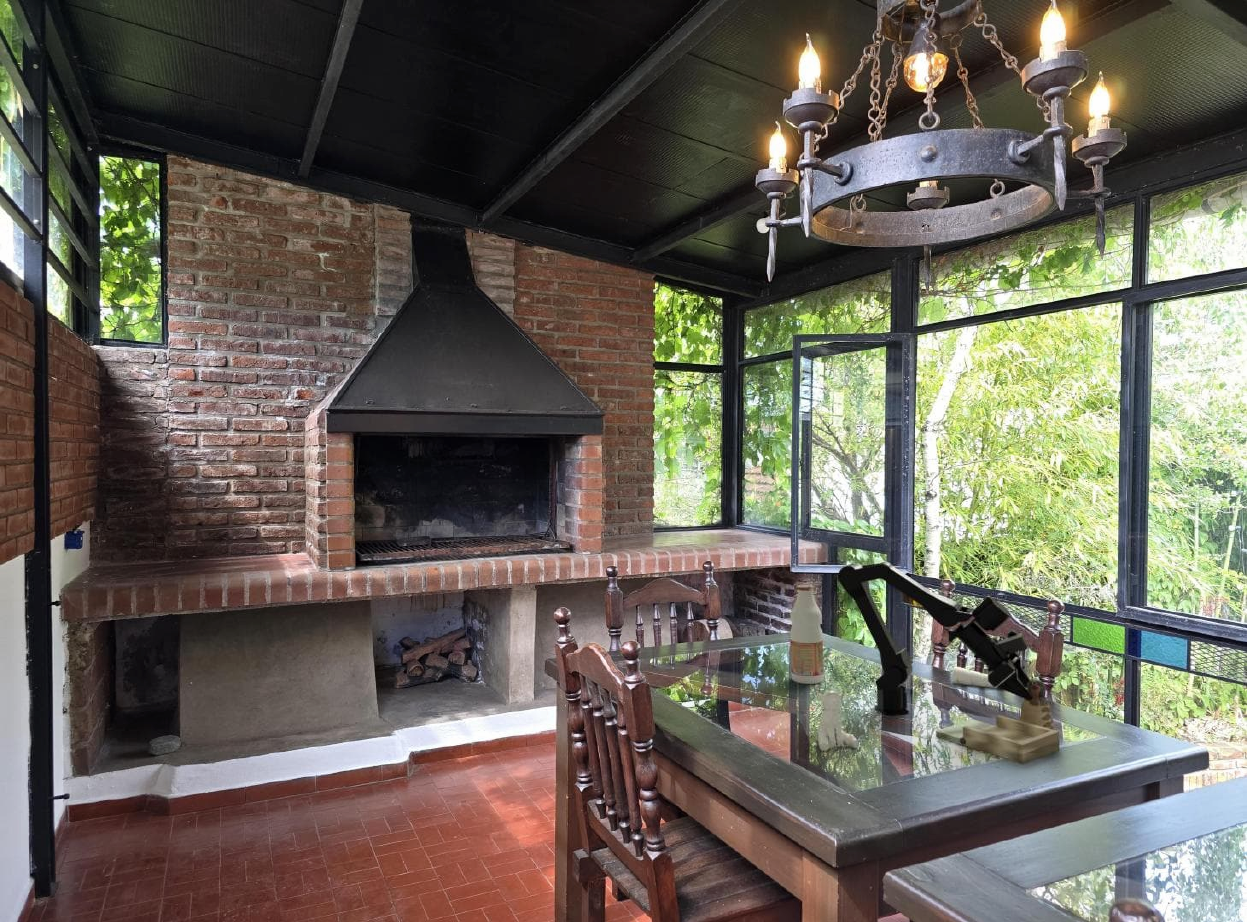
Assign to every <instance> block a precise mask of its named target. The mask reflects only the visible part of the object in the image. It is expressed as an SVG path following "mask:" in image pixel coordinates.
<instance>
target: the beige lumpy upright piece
mask: <svg viewBox="0 0 1247 922" xmlns="http://www.w3.org/2000/svg"><path fill="white" fill-rule="evenodd" d="M842 694H843V693H838V692H837V691H834V690H832V689H831V690H826V691H824V693H823V694H822V693H817V694H816V695H817V698H818V699H819V700H821V705H822V708H824V710H823V711H822V713H821V716H820V720H819V721H820V722H819V724H818V727H817V732H816V734H817V735H816V736H817V739H818V740H817V741H818V743H817V744H818V747H819V749H820V750H821V751H824V752H827V751H828V750H829V749H833V748H836V747H839V748H841V747H842V748H843V747H850V748H852V749H857V748H858V747H859V744H860V743H859V742H860V741H859V740H858V739H857V738H856V737H855V736H854V734H852V733H847V732H845V731H844V729H843V728H842V726H843V725H842V722H843V720H842V717H841V715H840V709H841V708H842V706H843V703H842Z"/></svg>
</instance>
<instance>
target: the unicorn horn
mask: <svg viewBox="0 0 1247 922" xmlns="http://www.w3.org/2000/svg"><path fill="white" fill-rule="evenodd" d="M951 681H952V683H953V684H956V685H966V686H974V687H982V688H991V689H998V688H997V686H996V687H993V686H992V685H991V684H990V683H989V682H988V674H986V673H982V672H979V671H975V670H971V669H967V668H963V667H959V666H953V668H952V673H951ZM1025 688H1026V687H1025ZM999 689H1000V688H999ZM1026 689H1027V688H1026ZM1000 690H1001V689H1000Z"/></svg>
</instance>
